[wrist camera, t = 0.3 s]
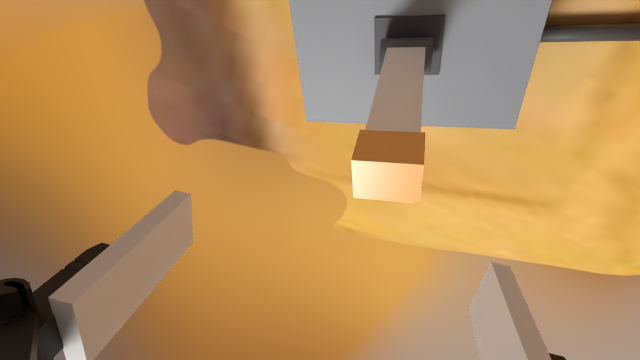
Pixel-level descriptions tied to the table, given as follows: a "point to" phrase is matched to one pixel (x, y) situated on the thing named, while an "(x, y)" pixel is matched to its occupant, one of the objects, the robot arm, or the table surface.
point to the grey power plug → (447, 60)
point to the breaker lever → (394, 125)
